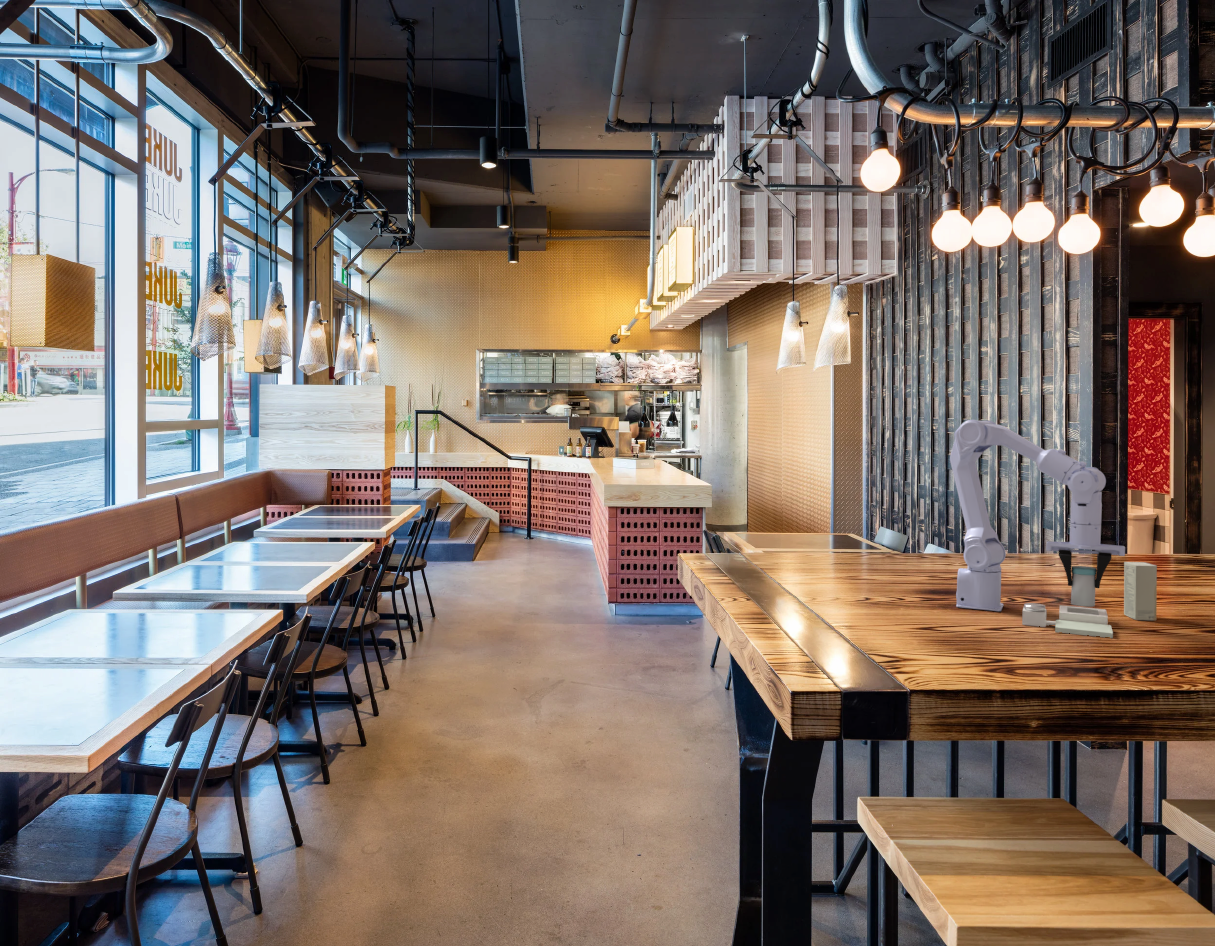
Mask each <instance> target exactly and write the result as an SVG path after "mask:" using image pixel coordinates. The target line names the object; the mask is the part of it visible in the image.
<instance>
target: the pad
mask: <svg viewBox="0 0 1215 946" xmlns="http://www.w3.org/2000/svg"><path fill="white" fill-rule="evenodd" d="M1055 621H1056V625H1055V626H1054V627H1055V628H1054V629H1055V631H1054V632H1055V633H1059V632H1062V633H1061V634H1069V633H1070V635H1080V636H1087V635H1089V636H1088V637H1090V636H1091V637H1096V636H1100V637H1099V638H1105V637H1110V638H1109V639H1113V637H1114V631H1113V629H1112V628H1113V627H1112V625H1110V624H1107V625H1103V624H1093V623H1084V622H1074V621H1064V620H1059V619H1055Z"/></svg>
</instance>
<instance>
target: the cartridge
mask: <svg viewBox="0 0 1215 946" xmlns="http://www.w3.org/2000/svg"><path fill="white" fill-rule="evenodd" d="M1096 574H1097V567H1092V566H1086V565H1085V566H1083V565H1073V566H1072V565H1071V576H1072V586H1071V590H1070V591H1071V594H1070V595H1071V597H1070V599H1071V600H1070V605H1072V606H1076V607H1085V608H1093V607H1095V606H1096V588H1095V584H1096Z"/></svg>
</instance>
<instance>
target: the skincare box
mask: <svg viewBox="0 0 1215 946" xmlns="http://www.w3.org/2000/svg"><path fill="white" fill-rule="evenodd" d="M1123 564H1124V565H1123V566H1124V567H1123V568H1124V569H1123V570H1124V571H1123V577H1124V578H1123V580H1124V581H1123V614H1124V616H1126V617H1129V618H1131V619H1132V620H1136V621H1152V622H1153V621H1154V622H1155V621H1157V599H1158V598H1157V594H1158V593H1157V589H1158V588H1157V586H1158V585H1157V584H1158V582H1157V581H1158V580H1157V579H1158V577H1157V575H1158V572H1157V570H1158V569H1157V568H1158V565H1156V564H1152V563H1149V562H1146V561H1144V562H1143V561H1140V562H1139V561H1124V562H1123Z"/></svg>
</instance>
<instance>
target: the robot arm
mask: <svg viewBox="0 0 1215 946" xmlns="http://www.w3.org/2000/svg"><path fill="white" fill-rule="evenodd" d="M953 435H954V437H953V438H954V440H953V445H952V447H951V448H952V449H951V451H950V452H951V453H950V456H949V462H950V466H951V469H952V471H951V472H952V475H953V479H954V483H955V487H956V490H957V495H958V499H959V504H960V508H961V512H962V517H963V520H964V524H965V528H966V533H965V535H964V539H963V542H964V551H963V560H964V562H965V564H966V565H967V568H965V567H963V568H962V567H960V568H958V570H957V577H956V593H955V594H956V595H955V598H956V605H955V606H956V608H963V609H973V610H984V611H990V612H991V611H994V612H1002V610H1003V607H1004V603H1002V602H1001V598H1002V597H1001V596H1002V595H1001V594H1002V567H1001V564H1003V562H1004V561H1005V559H1006V555H1007V551H1006V549H1005V547H1004V544H1002V543H1001V541H1000V540H999V536H998V533H997V532H996V531H995V530H994V529H993V527H992V525H991V522H990V521H991V520H990V517H989V512H988V509H987V504H986V500H985V496H984V493H983V488H982V485H981V480H980V476H979V473H978V468H977V464H976V463H977V461H978V459H979V458H980V457H981V455H983V453H984V452H985V451H987V450H988V449H990V448H991V447H992V446H1002V447H1006V448H1007V449H1009V450H1012V451H1013V452H1015V453H1016V454H1019V455H1021V456H1023V457H1025V458H1027V459H1029V460H1031V461H1033V462H1035V464H1036V466H1037V470H1038V471H1039V472H1041V473H1043V474H1044V475H1047V476H1048V477H1049V478H1052V479H1053V480H1055V481H1057V482H1058V483H1060V484H1062V485H1065V486H1067V488H1068V489H1069V491H1070V492H1071V501H1070V520H1069V521H1070V523H1069V541H1046V545H1045V550H1046V551H1047V552H1058V557H1059V558H1060V561H1061V563H1062V566H1063V569H1064V572H1065V575H1066V579H1067V587H1072V556H1073V555H1072V553H1078V554H1079V553H1080V554H1081V553H1083V554H1096V569H1097V571H1096V584H1095V589H1100V587H1101V582H1102V578H1103V576H1104V573H1105V571H1106V569H1107V567H1108V566H1109V564H1110V563H1111V561H1112V558H1113V557H1112V555H1113V556H1120V557H1125V555H1126V547H1125V546H1124V545H1115V544H1107V543H1105V544H1104V543H1101V542H1102V541H1101V538H1102V537H1101V535H1102V511H1103V509H1102V507H1103V504H1102V494H1103V493H1102V491H1103V489H1104V488H1105V487H1106V483H1107V479H1106V476H1105V474H1104V473H1103V472H1102V471H1101V470H1099V468H1097V467H1095V466H1094V467H1093V466H1087V462H1086V461H1083V460H1081V461H1078V460H1077V459H1075V458H1074V457H1073V458H1072V457H1071V456H1069V455H1067V454H1066V453H1067V451H1066V450H1064V449H1062V448H1059V449H1056V448H1049V449H1044V448H1042V447H1041V446H1039V445H1037V444H1035V443H1033V442H1032V441H1031V440H1028V439H1027V438H1025V437H1023V436H1022V435H1020V434H1018V433H1017V432H1015V431H1013V430H1012V429H1009V428H1008V427H1006V426H1004V425H1001V424H997V423H996V422H994V421H992V420H987V419H986V420H977V419H967V420H966V421H963V422H962V423H961V424H960V426H958V428H957V429H956V430H955V431H954V433H953ZM1046 551H1045V552H1046Z"/></svg>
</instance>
